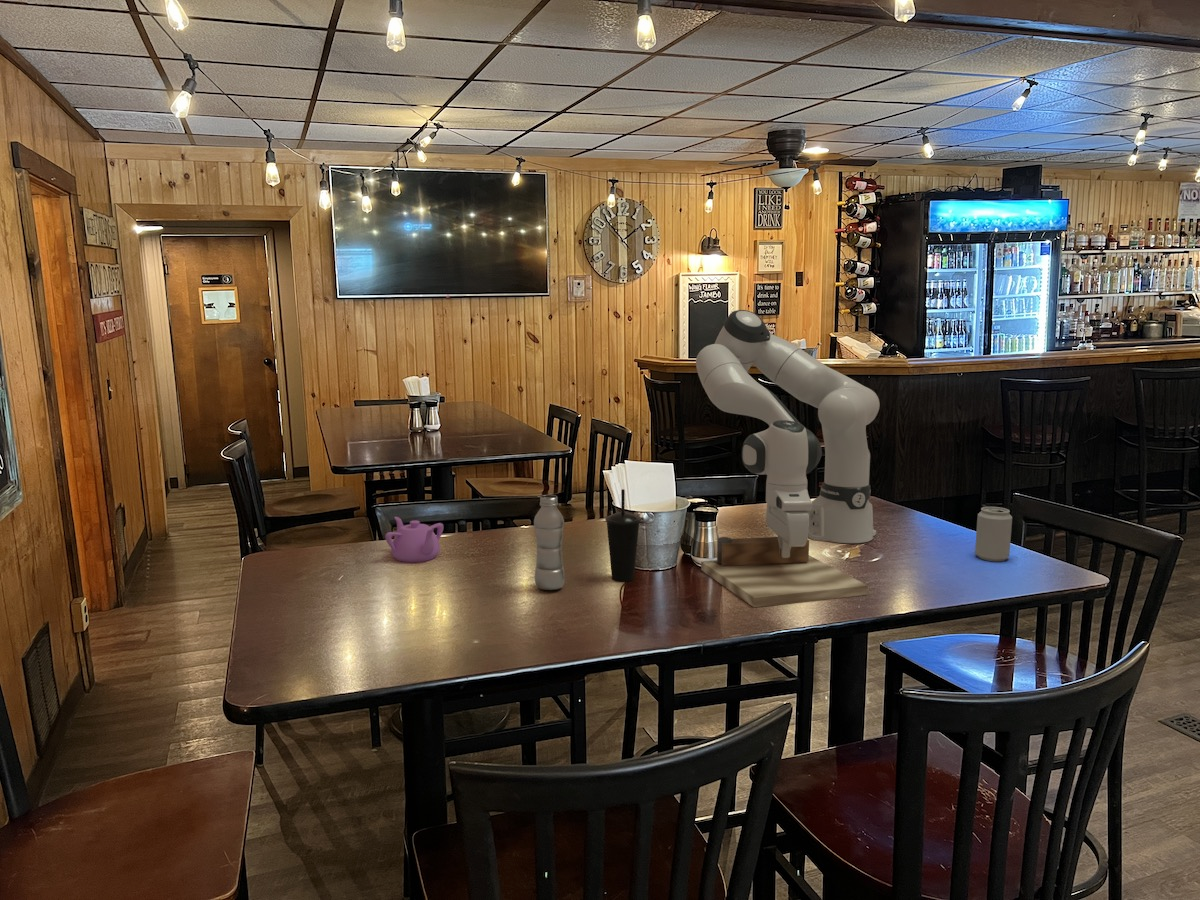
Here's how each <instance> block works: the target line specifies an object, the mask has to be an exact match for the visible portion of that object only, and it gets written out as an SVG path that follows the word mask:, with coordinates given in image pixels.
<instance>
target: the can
mask: <svg viewBox="0 0 1200 900" xmlns="http://www.w3.org/2000/svg"><path fill="white" fill-rule="evenodd" d="M980 510H981V511H979V513H977V518H976V519H977V520H976V530H975V531H976V533H975V546H974V547H975V549H974V554H975V555H976V556H977V557H978V558H979V559H981V560H984V561H988V562H1004V561H1005V560H1007V559H1008V558H1010V550H1011V540H1012V539H1011V537H1012V525H1013V516H1012V515H1011V514H1010V512H1011V511H1010V509H1008V508H1005V507H998V506H982V507H981V508H980Z"/></svg>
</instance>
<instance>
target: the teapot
mask: <svg viewBox="0 0 1200 900" xmlns="http://www.w3.org/2000/svg"><path fill="white" fill-rule="evenodd" d="M394 520H395V522H396V531H388V532H387V533H385V535H384V538H385V541H386V543H387V545H388V546H389V548H390V553H391V556H393V558H395V560H397V561H399V562H402V563H411V564H412V563H423V562H424V563H425V562H427V561H428V562H429V561H432V560H434V559H435V558H436V557H437V556H438V554H439V553H440V551H441V546H440V542H439V541H440V539H441V537H442V535H443V533H444V532H443V531H444V524H443V523H442V522H438V523H434V524H432V525H430V526H429V525H428V524H426V523H421V522H420V520H410V521H409V524H404V523H403V521H402V519H401V518H400V517H399V516H394ZM436 528H437V530H436V531H437V532H436V534H435V532H434V530H435V529H436ZM393 537H394V538H393ZM392 538H393V539H392Z"/></svg>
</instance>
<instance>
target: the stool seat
mask: <svg viewBox="0 0 1200 900" xmlns="http://www.w3.org/2000/svg"><path fill="white" fill-rule="evenodd" d="M700 566H701V569H700V571H702V572H703V573H705V574H706V575H707V576H709V577H710V578H711V579H713V580H714V581H716V582H717V583H719V584H720V585H722V586H723V587H724V588H726V589H727V590H728V591H731V592H732V593H733V594H734V595H736V596H737V597H738V598H740V599H741V600H743V601H744V602H745V603H747V604H749V605H750V606H751V607H753V608H760V607H769V606H780V605H788V604H796V603H797V604H798V603H805V602H815V601H824V600H832V599H841V598H842V599H843V598H852V597H859V596H860V597H861V596H868V587H869V586H868V585H867V584H865V583H864V582H862V581H860V580H858V579H856V578H854V577H852V576H850V575H848V574H847V573H844V572H842V571H841V570H839V569H837V568H834V567H833V566H831V565H829V564H828V563H825V562H823V561H821V560H819V559H817V558H815V557H813V556H812V555H810V554H809V561H808V562H799V563H777V564H754V565H732V566H722V565H719V564H717V559H716V560H708V561H707V560H706V561H705V560H704V561H701V565H700Z"/></svg>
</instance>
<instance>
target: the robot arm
mask: <svg viewBox="0 0 1200 900" xmlns="http://www.w3.org/2000/svg"><path fill="white" fill-rule="evenodd" d="M695 367H696V371H697V375H698V378H699V381H700V383H701V385H702V388H703V389H704V391H705V393H706V395H707V397H708V398H709V400H710V402H711V403H712V404H713V405H714V406H715V407H717V409H718V410H720V411H722V412H724V413H728V414H734V415H740V416H747V417H751V418H756V419H758V420H761V421H763V422H765V423H766V424H767V425H768V428H767V429H765V430H762V431H759V432H756V433H752V434H749V435H748V436H747V437H746V438H745V440H744V441H743V444H742V447H741V451H740V452H741V461H742V464H743V466H744V467H745V469H747V471H749V472H750V473H751V474H755V475H759V476H760V475H761V476H762V475H766V482H765V502H766V515H765V516H766V517H765V524H766V527H767V528H768V529H770V530H771V531H772V532H773V533H774V534H775V535H776V536H777V537H778V543H779V554H780V555H781V556H782V557H783V558H789V557H790V549H791V547H803V546H805V545H806V542H807V539H808V538H810V539H811V540H813V541H822V542H823V541H826V542H831V543H832V542H833V543H840V544H863V543H868V542H871V541H872V540H873V539H874V537H875V536H877V530H875V529H874V515H873V504H872V503H871V502H870V501H869V500H870V499H871V491H872V489H871V484H870V468H871V467H870V466H871V464H870V463H871V452H870V449H869V447H868V445H869V444H868V440H867V438H868V437H867V430H866V429H867V425H869V424H871V423H872V422H873V421H874V420H875V418H876V417H877V416H878V413H879V410H880V405H881V404H880V399H879V397H878V395H877V393H876V392H875V391H874V390H873V389H871V388H869V387H867V386H865V385H863V384H861V383H859V382H858V381H856V380H854V379H852V378H850V377H848V376H847V375H845V374H843V373H841V372H839V371H838V370H835V369H833V368H831V367H830V366H827V365H825V364H824V363H823V362H821V361H819V360H818V359H817V358H815V357H813V355H811V354H809V353H807V352H806V351H804V350H803V349H802V348H800V347H799V346H797V345H795V344H793V343H792V342H790V341H788V340H786V339H784V338H782V337H780V336H777V335H775V334H772V333H770V331H769V329H768V328H767V325H766V323H765V322H764V320H763V319H762V318H761V317H760V316H759V315H758V314H757V313H755V312H752V311H751V310H747V309H739V310H738V309H737V310H733V311H731V313H729V315H728V316H727V318H726V319H725V320H724V321H723V326H722V327H721V330H720V331H719V333H718V335H717V337H716V340H715V341H714V343H713V344H707V345H706V346H704V347H703V348H702V349H701V350H700V351H699V352H698V354H697V356H696V359H695ZM752 367H755V368H756V369H757V370H758V371H760V373H762V374H763V375H764V376H765V377H766V378H768V380H770V381H771V382H773V383H774V384H775V385H777V386H778V387H780V389H782V390H784V391H785V392H787V393H788V394H789V395H791V396H793V397H794V399H795V398H796V399H797V400H798V401H800V402H802V403H805V404H808V405H810V406H812V407H814V408H817V409H818V410H817V417H818V421H819V422H820V424H821V430H822V437H823V443H824V452H825V453H824V456H825V457H824V460H825V461H824V481H823V482H819V485H818V486H819V487H820V491H819V496H817V497H816V498H814V500H812V499H811V498H810V495H809V491H808V479H807V474H810V473H811V472H812V471H813V470H815V468H817V466H818V464H820V461H821V458H822V453H823V450H822V445H821V442H820V440H819V439H818V438H817V437H818V436H816V435H815V434H814V433H813V432H812V431H811V430H810V429H808V428H807V427H805V426H804V425H803V424H802V423H801V422H800V421H799V420H798V419H797V417H795V416H794V414H793V413H792V411H790V410H789V409H788V408H787V406H786V405H785V404H784V402H783V401H781V400H780V399H779V397H778V395H776V394H775V393H774V392H772V391H771V390H770V389H768V388H767V387H764V386H763V385H762V384H760V383H759V382H757V380H755V379H754V378H753V377H752V376H751V375H750V374H749V370H750V368H752ZM808 540H809V539H808Z"/></svg>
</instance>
